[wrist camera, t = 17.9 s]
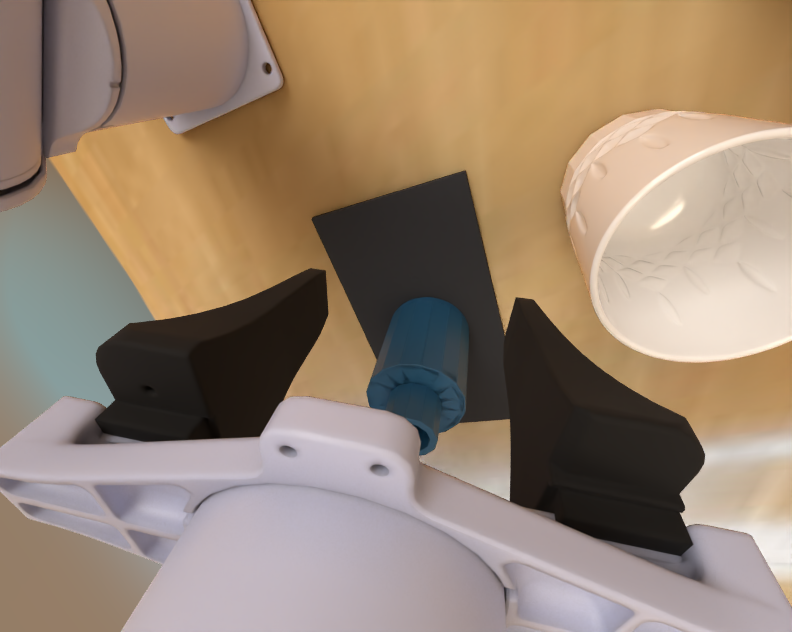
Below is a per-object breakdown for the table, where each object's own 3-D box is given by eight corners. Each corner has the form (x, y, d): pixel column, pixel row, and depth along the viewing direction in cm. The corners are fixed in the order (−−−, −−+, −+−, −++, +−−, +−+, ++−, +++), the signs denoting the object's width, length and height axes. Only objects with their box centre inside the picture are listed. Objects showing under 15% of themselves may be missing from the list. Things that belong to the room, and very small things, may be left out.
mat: (313, 216, 24) (311, 219, 24) (465, 170, 21) (465, 172, 21) (408, 423, 34) (408, 427, 34) (523, 414, 31) (523, 418, 30)
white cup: (547, 256, 23) (582, 365, 15) (551, 112, 19) (602, 155, 11) (698, 242, 21) (835, 361, 13) (741, 77, 17) (984, 98, 9)
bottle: (375, 329, 28) (335, 432, 20) (425, 281, 25) (399, 381, 17) (432, 371, 29) (414, 483, 22) (486, 331, 26) (487, 444, 19)
